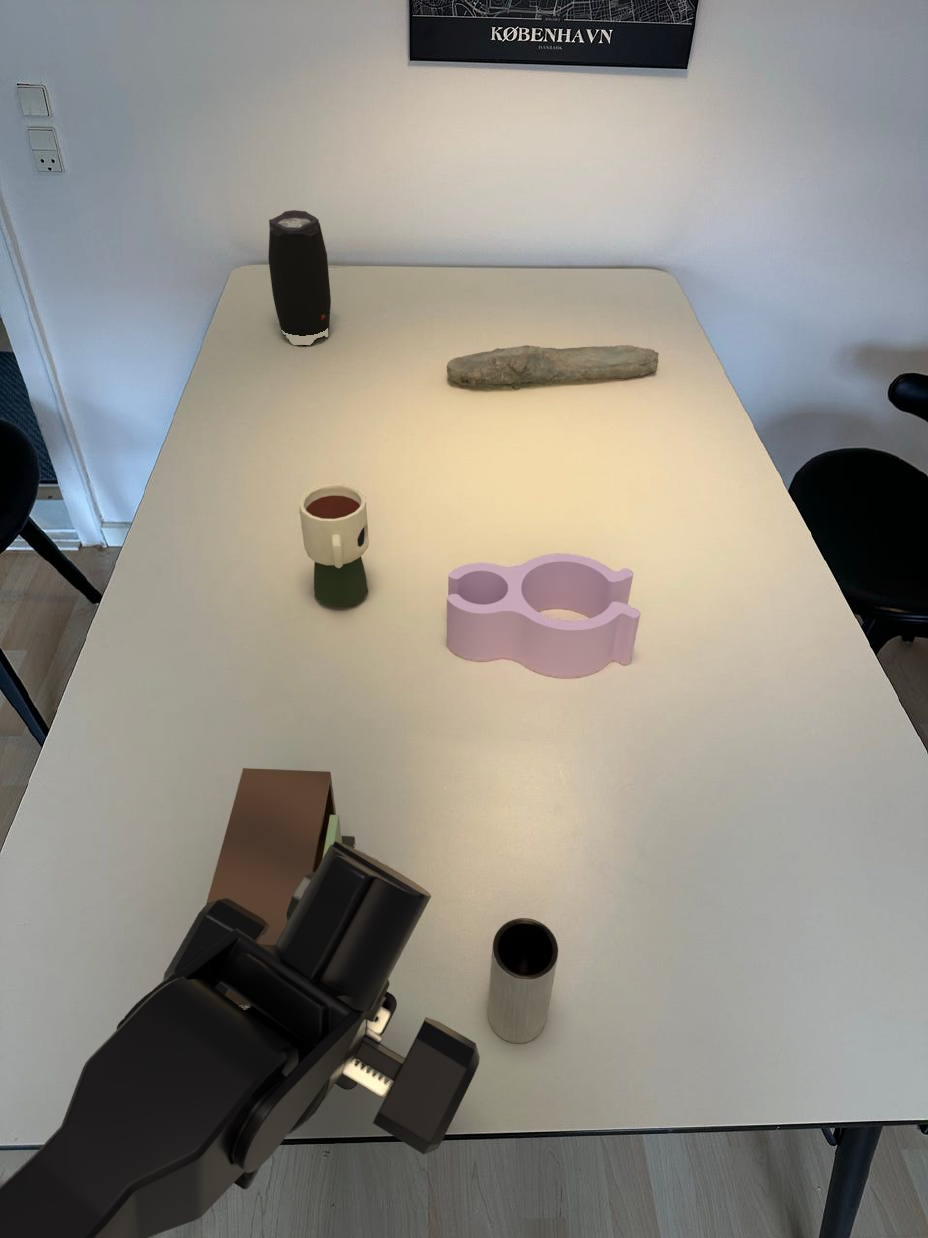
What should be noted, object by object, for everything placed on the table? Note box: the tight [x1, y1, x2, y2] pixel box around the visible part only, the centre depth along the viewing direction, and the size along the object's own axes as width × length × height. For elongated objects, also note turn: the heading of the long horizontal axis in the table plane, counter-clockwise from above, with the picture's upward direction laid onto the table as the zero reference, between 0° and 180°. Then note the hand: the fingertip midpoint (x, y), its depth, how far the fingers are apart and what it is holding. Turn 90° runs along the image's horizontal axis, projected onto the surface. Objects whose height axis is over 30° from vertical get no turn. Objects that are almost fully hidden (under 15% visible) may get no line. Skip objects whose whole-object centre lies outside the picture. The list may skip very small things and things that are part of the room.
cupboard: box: [205, 767, 356, 1006], centre depth 71 cm, size 15×9×10 cm, turn 178°
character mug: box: [298, 483, 370, 607], centre depth 100 cm, size 11×7×13 cm, turn 9°
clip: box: [446, 553, 641, 679], centre depth 98 cm, size 20×12×7 cm, turn 88°
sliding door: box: [322, 814, 342, 859], centre depth 71 cm, size 8×2×8 cm, turn 178°
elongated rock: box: [446, 344, 660, 390], centre depth 144 cm, size 35×5×10 cm
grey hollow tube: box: [487, 917, 559, 1044], centre depth 65 cm, size 4×4×10 cm
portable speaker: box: [267, 209, 332, 336], centre depth 148 cm, size 9×9×20 cm
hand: (344, 996), depth 61 cm, fingers closed
